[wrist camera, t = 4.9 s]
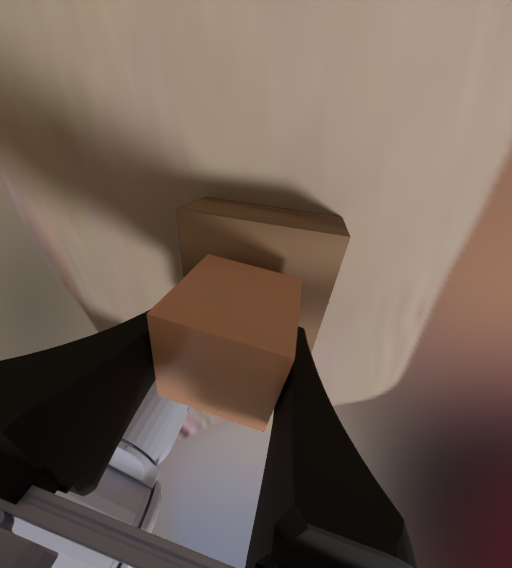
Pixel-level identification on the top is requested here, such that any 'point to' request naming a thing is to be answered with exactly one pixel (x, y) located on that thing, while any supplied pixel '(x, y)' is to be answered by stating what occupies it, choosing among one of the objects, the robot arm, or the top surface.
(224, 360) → the terracotta cube
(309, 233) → the walnut block
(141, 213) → the top surface
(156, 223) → the top surface
